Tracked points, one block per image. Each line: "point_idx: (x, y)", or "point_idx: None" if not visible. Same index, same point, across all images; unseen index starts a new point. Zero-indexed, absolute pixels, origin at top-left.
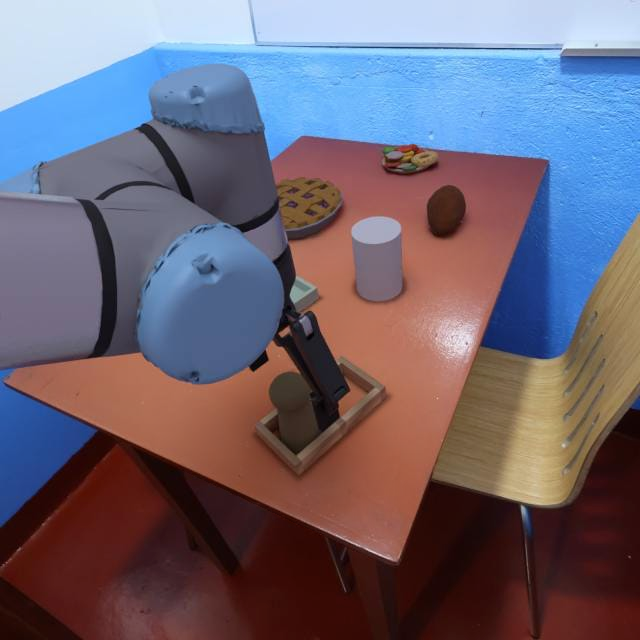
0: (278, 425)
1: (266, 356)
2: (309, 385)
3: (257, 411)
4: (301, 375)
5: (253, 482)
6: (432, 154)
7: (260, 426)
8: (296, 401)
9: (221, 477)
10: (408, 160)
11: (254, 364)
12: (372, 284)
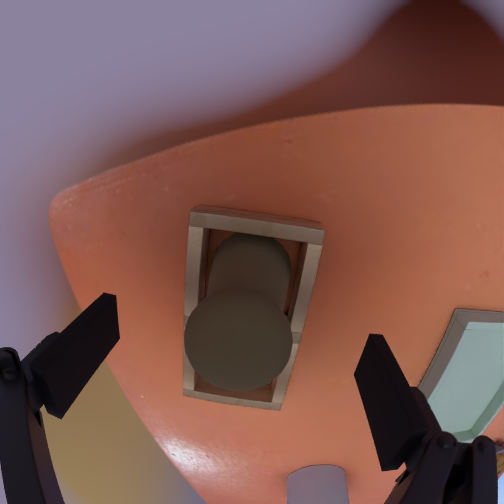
0: (299, 259)
1: (358, 382)
2: (19, 396)
3: (355, 260)
4: (226, 389)
5: (257, 147)
6: None
7: (311, 236)
8: (186, 329)
9: (314, 120)
10: None
11: (371, 354)
12: (311, 488)
